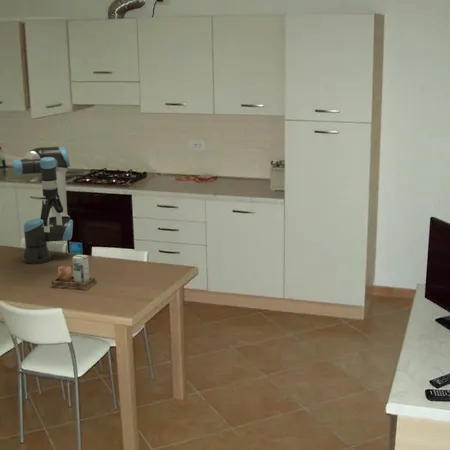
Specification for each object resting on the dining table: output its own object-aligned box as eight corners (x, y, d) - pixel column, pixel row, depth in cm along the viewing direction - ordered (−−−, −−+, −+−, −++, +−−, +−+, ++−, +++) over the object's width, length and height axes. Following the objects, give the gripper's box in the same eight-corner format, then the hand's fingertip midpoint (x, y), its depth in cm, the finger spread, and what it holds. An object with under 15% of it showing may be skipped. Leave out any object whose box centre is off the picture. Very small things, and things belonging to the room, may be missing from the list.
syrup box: (73, 284, 349) (71, 257, 345) (80, 281, 354) (79, 253, 350) (83, 286, 346) (81, 258, 343) (90, 282, 352) (88, 255, 348)
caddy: (50, 287, 348) (48, 270, 346) (61, 280, 359) (60, 263, 357) (86, 290, 343) (85, 273, 341) (97, 282, 354) (96, 265, 352)
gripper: (44, 193, 340) (48, 235, 345) (67, 183, 363) (70, 222, 369) (31, 193, 341) (34, 234, 347) (54, 182, 365) (57, 221, 370)
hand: (53, 228), depth 358 cm, fingers open, 13 cm apart
